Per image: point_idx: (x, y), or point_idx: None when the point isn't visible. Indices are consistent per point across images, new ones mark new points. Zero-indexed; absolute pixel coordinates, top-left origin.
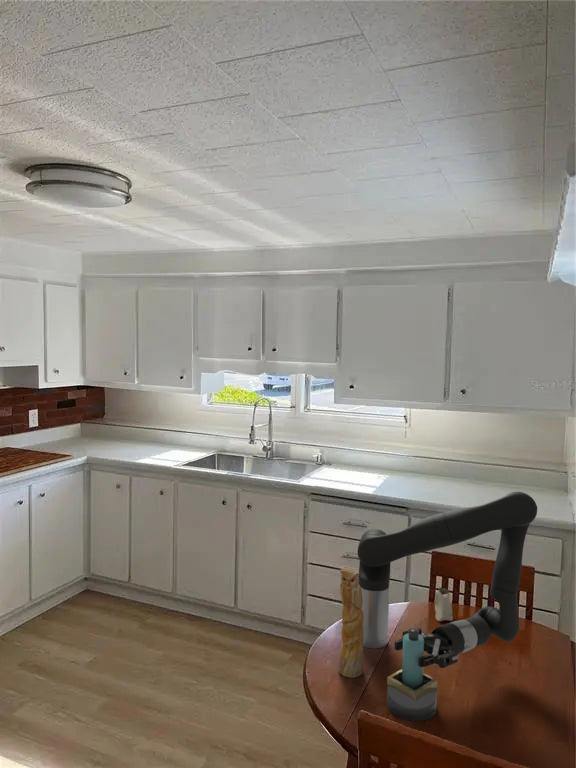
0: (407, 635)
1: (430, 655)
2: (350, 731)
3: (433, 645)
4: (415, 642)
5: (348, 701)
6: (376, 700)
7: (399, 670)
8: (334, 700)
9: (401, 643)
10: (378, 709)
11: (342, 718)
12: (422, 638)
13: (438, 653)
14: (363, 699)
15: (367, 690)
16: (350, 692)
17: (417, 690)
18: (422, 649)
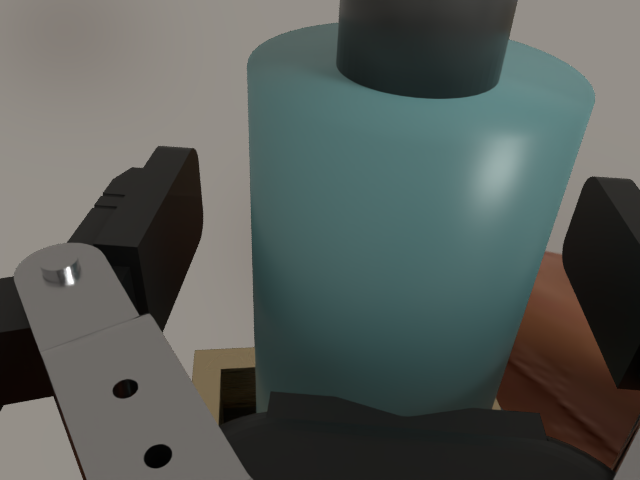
0: (530, 67)
1: (105, 227)
2: None
3: (258, 468)
4: (305, 41)
5: (528, 333)
6: None
7: None
8: (554, 298)
9: (608, 244)
10: None
11: None
12: (337, 116)
13: (76, 457)
14: (520, 392)
15: (602, 462)
16: (602, 379)
17: (208, 385)
18: (253, 196)
